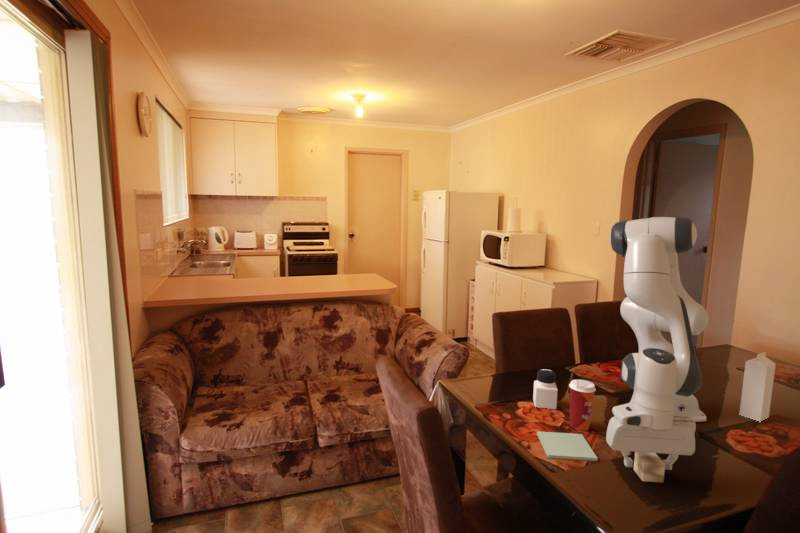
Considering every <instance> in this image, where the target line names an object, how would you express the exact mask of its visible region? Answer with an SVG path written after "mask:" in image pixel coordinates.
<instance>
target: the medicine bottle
mask: <svg viewBox="0 0 800 533" xmlns="http://www.w3.org/2000/svg"><path fill="white" fill-rule="evenodd" d="M556 376H557V373H556V372H555V371H553V370H551V369H546V368H545V369H544V368H543V369H539V370H537V373H536V380H534V381H533V394H532V400H533V405H534V407H535V408H536V407H537V408H538V409H545V408H547V410H555V409H556V410H557V408H558V397H559V396H558V395H559V390H558V387H557V384H556V380H557V379H556ZM537 408H536V409H537Z"/></svg>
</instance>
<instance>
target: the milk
mask: <svg viewBox="0 0 800 533" xmlns="http://www.w3.org/2000/svg"><path fill="white" fill-rule="evenodd" d="M776 365H777V364H776V363H775V362H774V361H772V360H771V359H770V358H768V357H767V352H766V351H764V352H761V353H758V354H757V355H756V357H755V358H752V359H748V360H746V361H745V364H744V371H743V372H744V373H743V380H742V389H741V397H740V405H739V411H738V412H739V414H738V415H739V416H740V415H741V417H743V416H744V417H743V418H746V417H747V418H746V419H748V418H750V419H749V420H751V419H753V420H752V421H754V420H756V421H755V422H757V421H759V422H758V423H762V422H761V421H763V420H765V419H767V418H769V416H770V412H771V411H770V410H771V402H772V396H773V388H774V379H775V373H776V372H775V371H776ZM767 420H768V419H767ZM765 421H766V420H765ZM763 422H764V421H763Z"/></svg>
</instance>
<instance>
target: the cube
mask: <svg viewBox="0 0 800 533" xmlns="http://www.w3.org/2000/svg"><path fill="white" fill-rule="evenodd" d="M665 470H666V469H665V463H664V462H663V459H662V458H661V457H660V456H659V455H658V453H648V452H634V460H633V471H634V472H635V474H637V476H638V477H639V479H640V480H641V481H642V482H648V483H649V482H650V483H651V482H652V483H661V484H662V483H664V481H665Z"/></svg>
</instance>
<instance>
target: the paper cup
mask: <svg viewBox="0 0 800 533" xmlns="http://www.w3.org/2000/svg"><path fill="white" fill-rule="evenodd" d="M568 387H569V426H570V427H571V428H572V429H574V430H576V429H577V430H576V431H579V432H581V431H582V432H586V431H589V429H590V424H591V418H592V412H593V405H594V399H595V398H594V397H595V392H596V391H597V389H596V386H595V384H594V383H593V382H592V381H589V380H585V379H580V378H579V379H572V380H571V381H570V383H569V384H568Z"/></svg>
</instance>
